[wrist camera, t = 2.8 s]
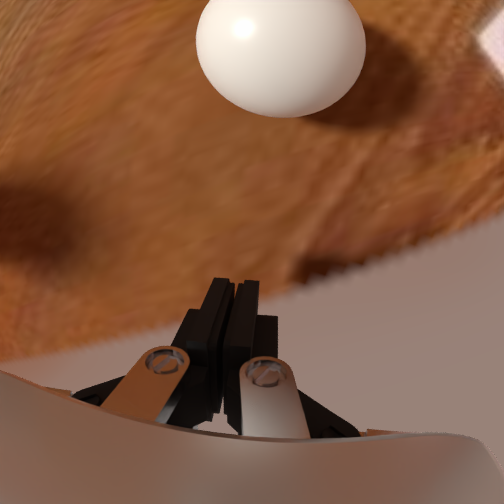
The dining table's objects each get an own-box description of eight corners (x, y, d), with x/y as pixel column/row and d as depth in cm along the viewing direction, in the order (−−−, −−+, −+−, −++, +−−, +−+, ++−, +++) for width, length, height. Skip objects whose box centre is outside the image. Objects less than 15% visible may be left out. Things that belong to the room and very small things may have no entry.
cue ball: (259, -8, 9) (248, -80, 4) (367, 53, 10) (420, 6, 5) (190, 83, 11) (133, 49, 6) (300, 148, 12) (319, 151, 6)
